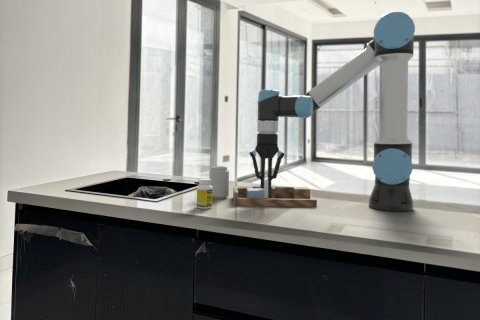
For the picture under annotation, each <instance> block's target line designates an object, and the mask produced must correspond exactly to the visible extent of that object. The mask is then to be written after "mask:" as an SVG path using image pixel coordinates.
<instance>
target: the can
mask: <svg viewBox="0 0 480 320" xmlns="http://www.w3.org/2000/svg"><path fill="white" fill-rule="evenodd" d="M209 179H211V184H210V185H211V186H212V187H213V198H212V199H215V200H223V199H226V198H228V197H229V192H230V171H229V169H228V166H220V165H219V166H218V165H217V166H216V165H215V166H211V169H210V170H209Z"/></svg>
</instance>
